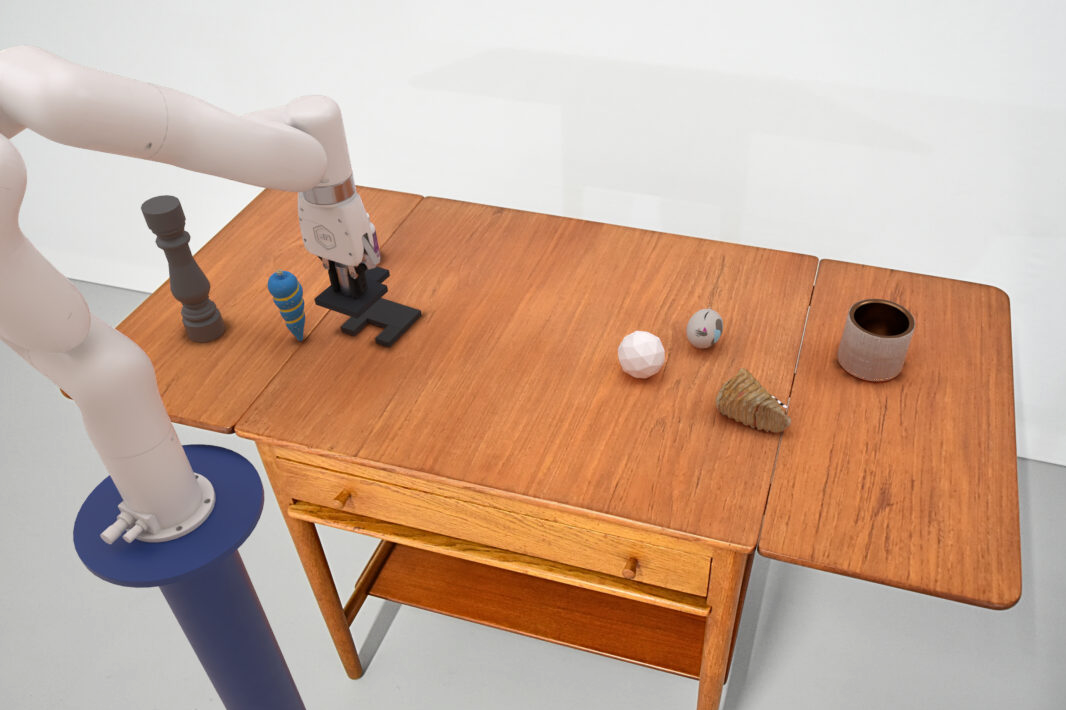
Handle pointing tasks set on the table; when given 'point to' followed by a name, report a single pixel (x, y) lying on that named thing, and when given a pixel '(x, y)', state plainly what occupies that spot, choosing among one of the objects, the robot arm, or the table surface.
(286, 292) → the ornament
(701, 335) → the figurine
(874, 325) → the planter
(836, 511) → the table surface
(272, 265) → the table surface
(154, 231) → the candle holder
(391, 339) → the notch pad
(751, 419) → the fossil
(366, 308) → the tab pad
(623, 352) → the geometric ball
